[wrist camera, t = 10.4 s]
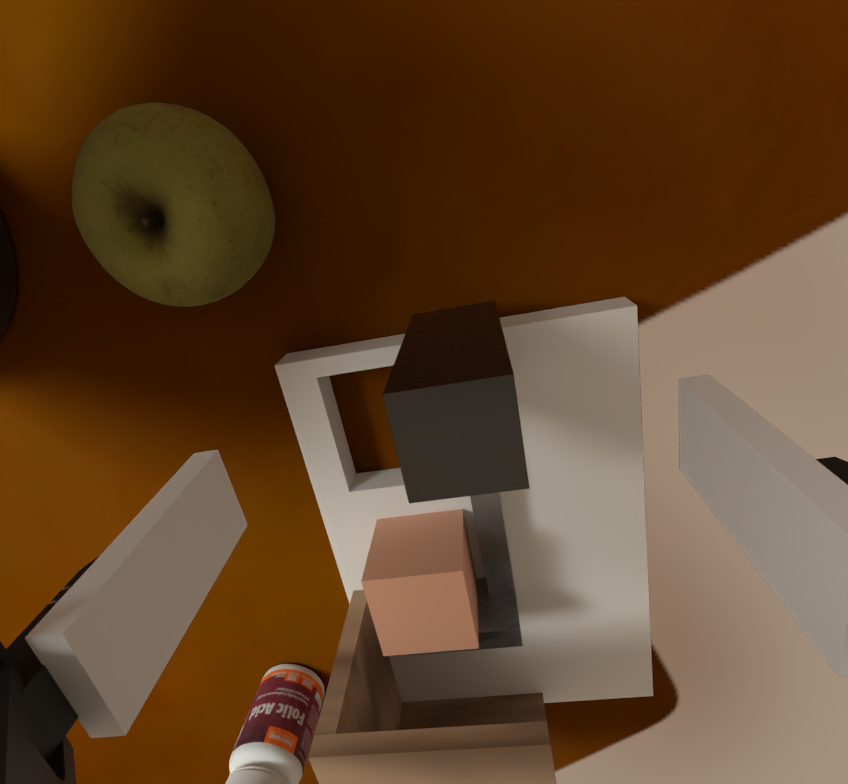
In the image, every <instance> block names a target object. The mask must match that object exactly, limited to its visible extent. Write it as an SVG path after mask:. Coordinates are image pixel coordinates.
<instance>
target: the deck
mask: <svg viewBox="0 0 848 784" xmlns="http://www.w3.org/2000/svg"><path fill="white" fill-rule="evenodd" d="M500 322H501V326H502V330H503V334H504V338H505V342H506V346H507V350H508V354H509V358H510V362H511V365H512V369H513V373H514V380H515V387H516V394H517V401H518V409H519V416H520V423H521V430H522V437H523V444H524V452H525V459H526V466H527V473H528V480H529V488H530V489H522V490H514V491H506V492H500V498H501V504H502V510H503V516H504V522H505V528H506V534H507V540H508V546H509V552H510V558H511V564H512V570H513V576H514V583H515V589H516V596H517V604H518V612H519V620H520V628H521V636H522V644H523V646H519V647H507V648H495V649H483V650H470V651H458V652H446V653H434V654H422V655H410V656H408V655H407V654H405V655H393V656H389V659H390V662H391V666H392V669H393V672H394V676H395V679H396V683H397V686H398V689H399V693H400V696H401V700H402V702H412V701H427V700H441V699H456V698H471V697H485V696H500V695H515V694H529V693H543V700H544V703H554V702H569V701H584V700H600V699H615V698H630V697H645V696H653V679H652V654H651V631H650V606H649V584H648V583H649V582H648V558H647V535H646V510H645V485H644V461H643V437H642V413H641V390H640V364H639V341H638V316H637V305H636V304H634V303H633V302H631V301H630V300H629V299H627V298H626V297H619V298H613V299H607V300H602V301H596V302H590V303H584V304H578V305H572V306H566V307H560V308H554V309H548V310H542V311H536V312H530V313H524V314H519V315H513V316H507V317H501V318H500ZM404 336H405V334H400V335H394V336H388V337H382V338H376V339H370V340H364V341H358V342H353V343H347V344H341V345H335V346H329V347H323V348H317V349H311V350H305V351H299V352H293V353H287V354H286V355H285V356H284V357H283V358H282V359H281V360H280V361H279V362H278V363H277V364H276V365H275V369H276V373H277V376H278V379H279V382H280V385H281V388H282V392H283V395H284V398H285V401H286V404H287V407H288V411H289V414H290V417H291V420H292V423H293V426H294V430H295V433H296V436H297V439H298V442H299V445H300V449H301V452H302V455H303V458H304V461H305V464H306V468H307V471H308V474H309V477H310V480H311V483H312V486H313V490H314V493H315V496H316V499H317V502H318V505H319V509H320V512H321V515H322V518H323V521H324V524H325V528H326V531H327V534H328V537H329V540H330V543H331V547H332V550H333V553H334V556H335V559H336V562H337V566H338V569H339V572H340V575H341V578H342V581H343V585H344V588H345V591H346V594H347V597H348V600H349V604H350V601H351V598H352V594H353V591H354V590H363V586H362V583H361V580H362V576H363V572H364V568H365V564H366V560H367V556H368V552H369V549H370V545H371V541H372V537H373V533H374V529H375V525H376V521H377V519H382V518H390V517H399V516H407V515H415V514H424V513H432V512H440V511H449V510H457V509H463V512H464V517H465V522H466V527H467V532H468V537H469V542H470V547H471V552H472V557H473V562H474V567H475V573H476V578H477V579H478V578H486V577H485V572H484V567H483V561H482V556H481V551H480V546H479V540H478V535H477V530H476V524H475V519H474V514H473V509H472V503H471V498H470V496H466V497H458V498H449V499H441V500H433V501H425V502H417V503H409V502H408V497H407V493H406V489H405V485H404V481H403V477H402V473H401V468H394V469H386V470H379V471H371V472H364V473H356V471H355V468H354V464H353V460H352V457H351V453H350V450H349V446H348V442H347V439H346V435H345V432H344V428H343V424H342V421H341V417H340V413H339V410H338V406H337V403H336V399H335V395H334V392H333V388H332V385H331V381H330V377H329V376H330V375H337V374H343V373H349V372H355V371H362V370H368V369H374V368H380V367H387V366H393V365H394V363H395V360H396V358H397V355H398V352H399V350H400V347H401V344H402V342H403V339H404Z"/></svg>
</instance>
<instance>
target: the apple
mask: <svg viewBox="0 0 848 784" xmlns="http://www.w3.org/2000/svg"><path fill="white" fill-rule="evenodd" d="M71 202H72V211H73V215H74V218H75V222H76V225H77V227H78V229H79V231H80V234H81V236H82V238H83V240H84V241H85V243H86V245H87V246H88V248H89V249H90V251H91V253H92V254H93V255H94V257H95V258H96V259H97V261H98V262H99V263H100V265H101V266H102V267H103V268H104V269H105V270H106V271H107V272H108V273H109V274H110V275H111V276H112V277H113V278H114V279H115V280H116V281H118V282H119V283H120V284H122V285H123V286H124V287H126V288H127V289H129V290H130V291H132V292H134V293H135V294H137V295H139V296H141V297H143V298H145V299H147V300H150V301H153V302H156V303H160V304H164V305H171V306H179V307H192V306H201V305H205V304H209V303H213V302H216V301H218V300H221V299H223V298H225V297H227V296H230V295H231V294H233V293H234V292H236V291H237V290H239V289H240V288H241V287H242V286H243V285H245V284H246V283H247V282H248V281H249V280H250V279H251V278H252V277H253V276H254V275H255V274H256V272H257V271H258V270H259V268H260V267H261V266H262V264H263V263H264V261H265V259H266V258H267V256H268V254H269V251H270V249H271V246H272V243H273V238H274V234H275V222H276V221H275V212H274V206H273V202H272V198H271V195H270V191H269V188H268V186H267V183H266V180H265V178H264V176H263V174H262V172H261V170H260V168H259V167H258V165H257V163H256V162H255V160H254V158H253V157H252V156H251V154H250V153H249V151H248V150H247V149H246V147H245V146H244V145H243V144H242V143H241V142H240V140H239V139H238V138H237V137H236V136H235V135H234V134H233V133H232V132H231V131H229V130H228V129H227V128H226V127H225V126H223V125H222V124H220V123H219V122H217V121H215V120H214V119H212V118H211V117H209V116H207V115H205V114H203V113H201V112H199V111H196V110H194V109H191V108H188V107H184V106H180V105H176V104H169V103H154V102H152V103H141V104H135V105H131V106H128V107H124V108H121V109H119V110H117V111H116V112H114V113H112V114H111V115H109V116H107V117H106V118H104V119H103V120H102V121H101V122H100V123H99V124H98V125H97V126H95V127H94V128H93V130H92V131H91V132H90V134H89V135H88V137H87V138H86V140H85V141H84V143H83V146H82V148H81V150H80V152H79V155H78V158H77V162H76V165H75V169H74V174H73V181H72V193H71Z"/></svg>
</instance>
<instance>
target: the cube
mask: <svg viewBox="0 0 848 784" xmlns="http://www.w3.org/2000/svg"><path fill="white" fill-rule="evenodd" d="M361 583H362V586H363V590H364V593H365V596H366V600H367V603H368V606H369V609H370V613H371V616H372V619H373V623H374V626H375V629H376V633H377V636H378V639H379V643H380V646H381V649H382V653H383V656H393V655H405V654H418V653H430V652H442V651H454V650H466V649H478V648H479V637H478V605H477V578H476V573H475V567H474V562H473V557H472V552H471V547H470V542H469V537H468V532H467V527H466V522H465V517H464V512H463V509H457V510H449V511H440V512H432V513H424V514H415V515H407V516H399V517H390V518H382V519H377V521H376V525H375V529H374V533H373V537H372V541H371V545H370V549H369V552H368V556H367V560H366V564H365V568H364V572H363V576H362V580H361Z"/></svg>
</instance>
